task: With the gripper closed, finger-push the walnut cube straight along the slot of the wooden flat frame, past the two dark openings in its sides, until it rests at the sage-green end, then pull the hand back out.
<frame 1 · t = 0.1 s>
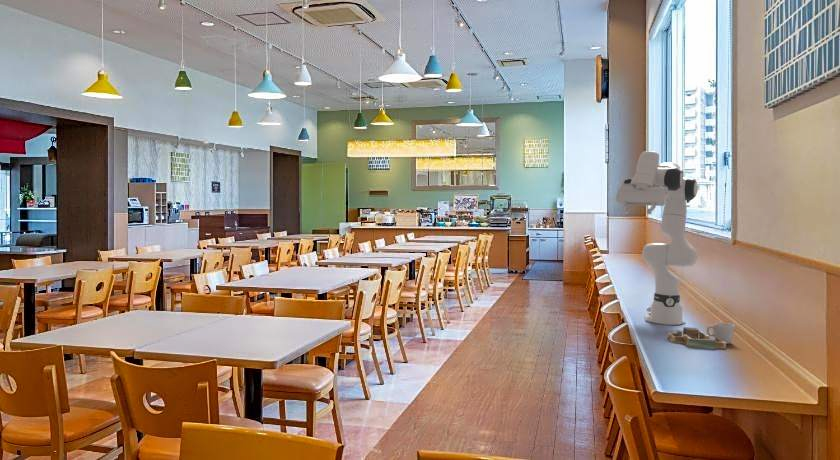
hand: (637, 213, 270), 54 cm above the table, tool tilted 30°, fingers open, 8 cm apart
block: (690, 339, 279), on the table
cup: (719, 342, 276), on the table
wooden flat frame: (695, 343, 272), on the table
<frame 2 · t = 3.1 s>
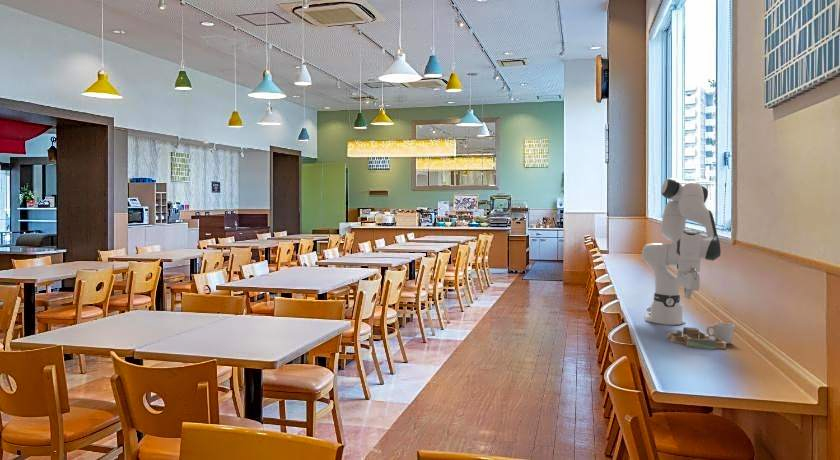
hand: (687, 297, 286), 17 cm above the table, tool pointing down, fingers closed
nothing on the table moved.
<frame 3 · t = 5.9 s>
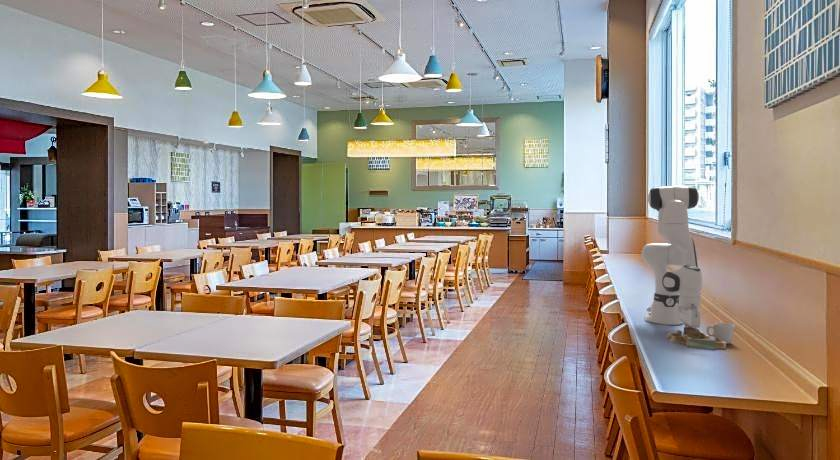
hand: (688, 333, 284), 2 cm above the table, tool pointing down, fingers closed
block: (690, 340, 279), on the table, touching gripper
everything else where it was.
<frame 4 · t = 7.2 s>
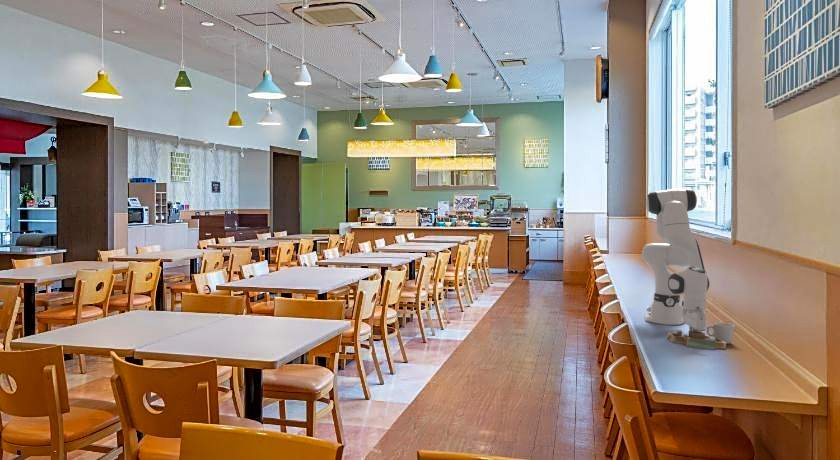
hand: (693, 337, 276), 2 cm above the table, tool pointing down, fingers closed
block: (695, 343, 271), on the table, touching gripper
everything else where it was.
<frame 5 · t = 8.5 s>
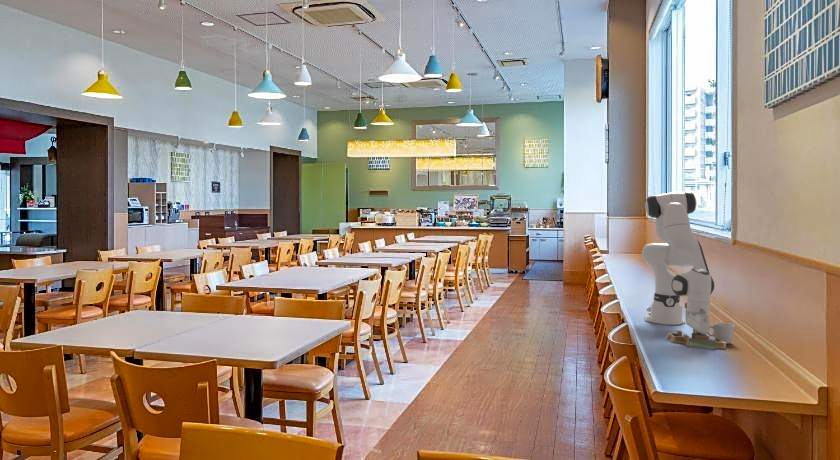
hand: (696, 339, 271), 2 cm above the table, tool pointing down, fingers closed
block: (699, 346, 267), on the table, touching wooden flat frame, gripper
everything else where it was.
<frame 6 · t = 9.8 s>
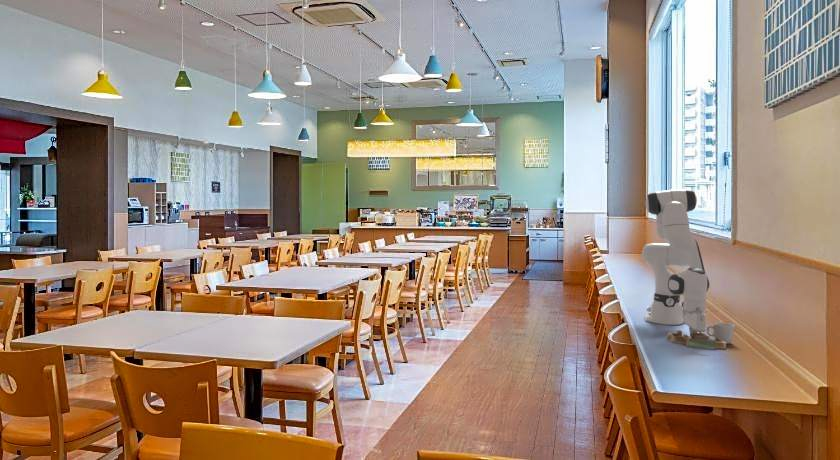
hand: (692, 338, 276), 1 cm above the table, tool pointing down, fingers closed
block: (698, 346, 267), on the table
everything else where it was.
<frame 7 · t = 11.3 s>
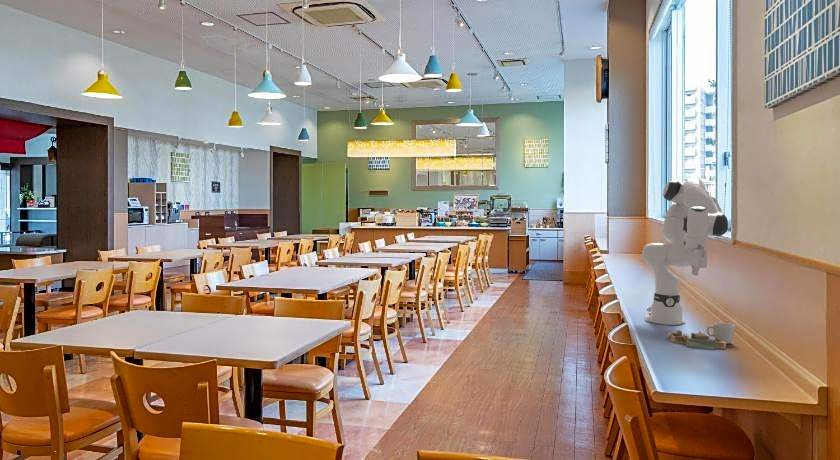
hand: (695, 275, 282), 28 cm above the table, tool pointing down, fingers closed
nothing on the table moved.
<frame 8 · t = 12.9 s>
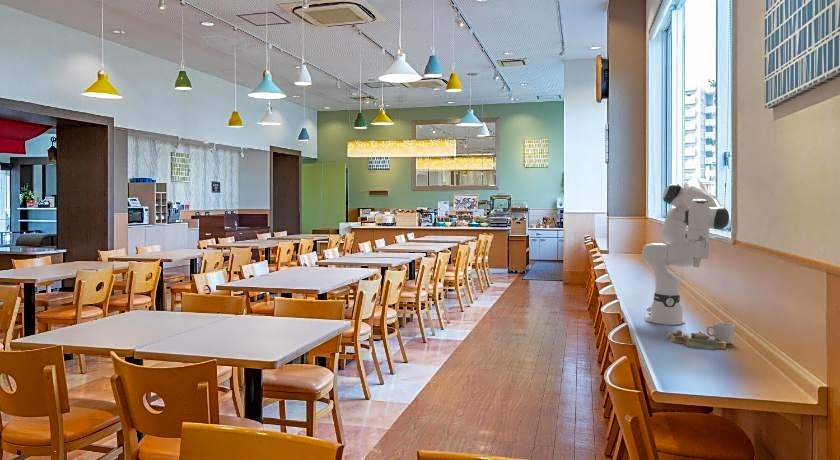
hand: (696, 267, 283), 31 cm above the table, tool pointing down, fingers closed
nothing on the table moved.
at the end: block inside the target area (0.2 cm from its centre), on the table; block tilted 0°; the gripper is holding nothing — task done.
